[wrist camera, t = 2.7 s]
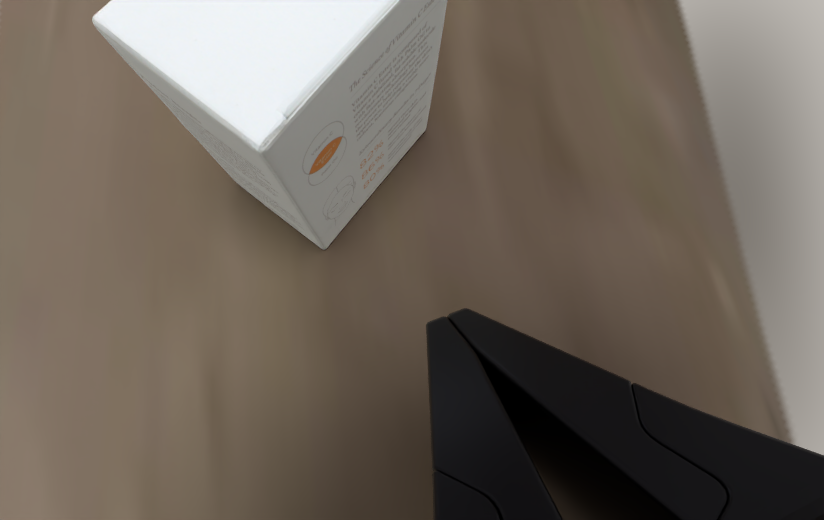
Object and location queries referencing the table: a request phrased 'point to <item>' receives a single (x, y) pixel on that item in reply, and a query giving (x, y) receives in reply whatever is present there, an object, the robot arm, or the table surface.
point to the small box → (290, 91)
